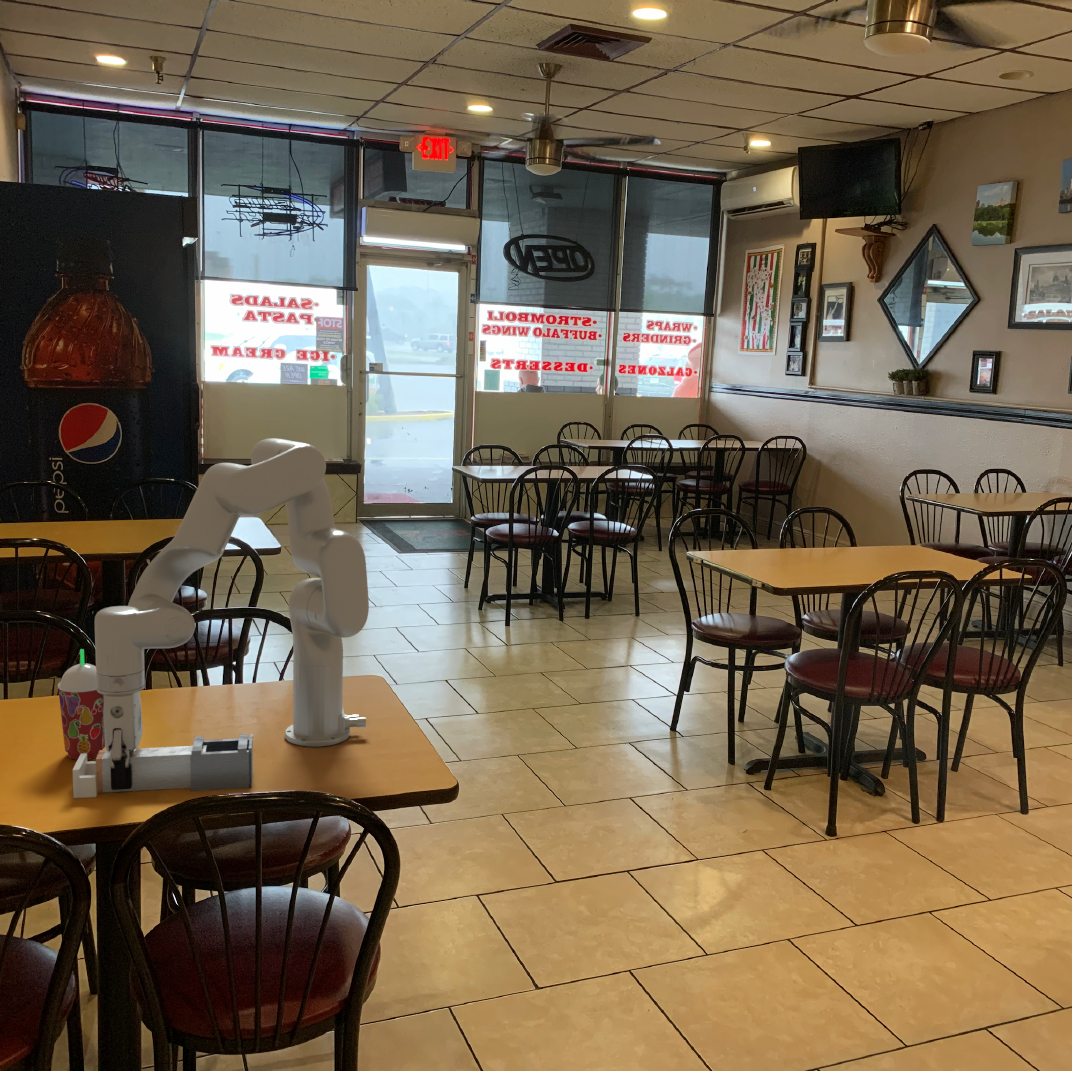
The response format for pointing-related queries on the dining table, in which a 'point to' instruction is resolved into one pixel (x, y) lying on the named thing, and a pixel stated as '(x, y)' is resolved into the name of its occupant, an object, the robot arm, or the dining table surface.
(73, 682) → the smoothie
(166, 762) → the grey two-tone block
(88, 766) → the socket
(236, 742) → the sleeve
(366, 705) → the dining table surface
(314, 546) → the robot arm
